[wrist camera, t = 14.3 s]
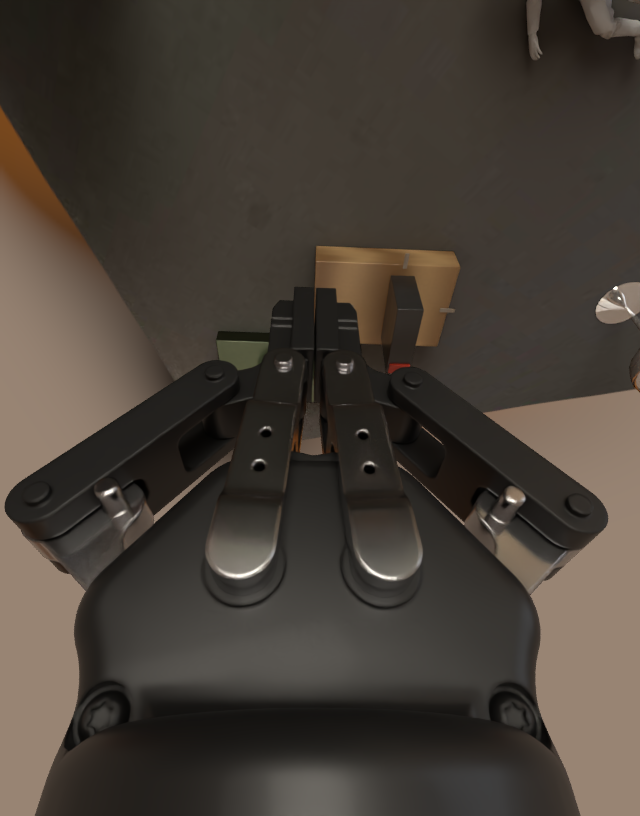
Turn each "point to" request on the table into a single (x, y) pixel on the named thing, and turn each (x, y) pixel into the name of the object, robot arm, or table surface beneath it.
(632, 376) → the wineglass
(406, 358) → the dark grey flat block
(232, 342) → the button box
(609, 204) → the table surface
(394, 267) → the wooden base block
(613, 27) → the soldier figure
